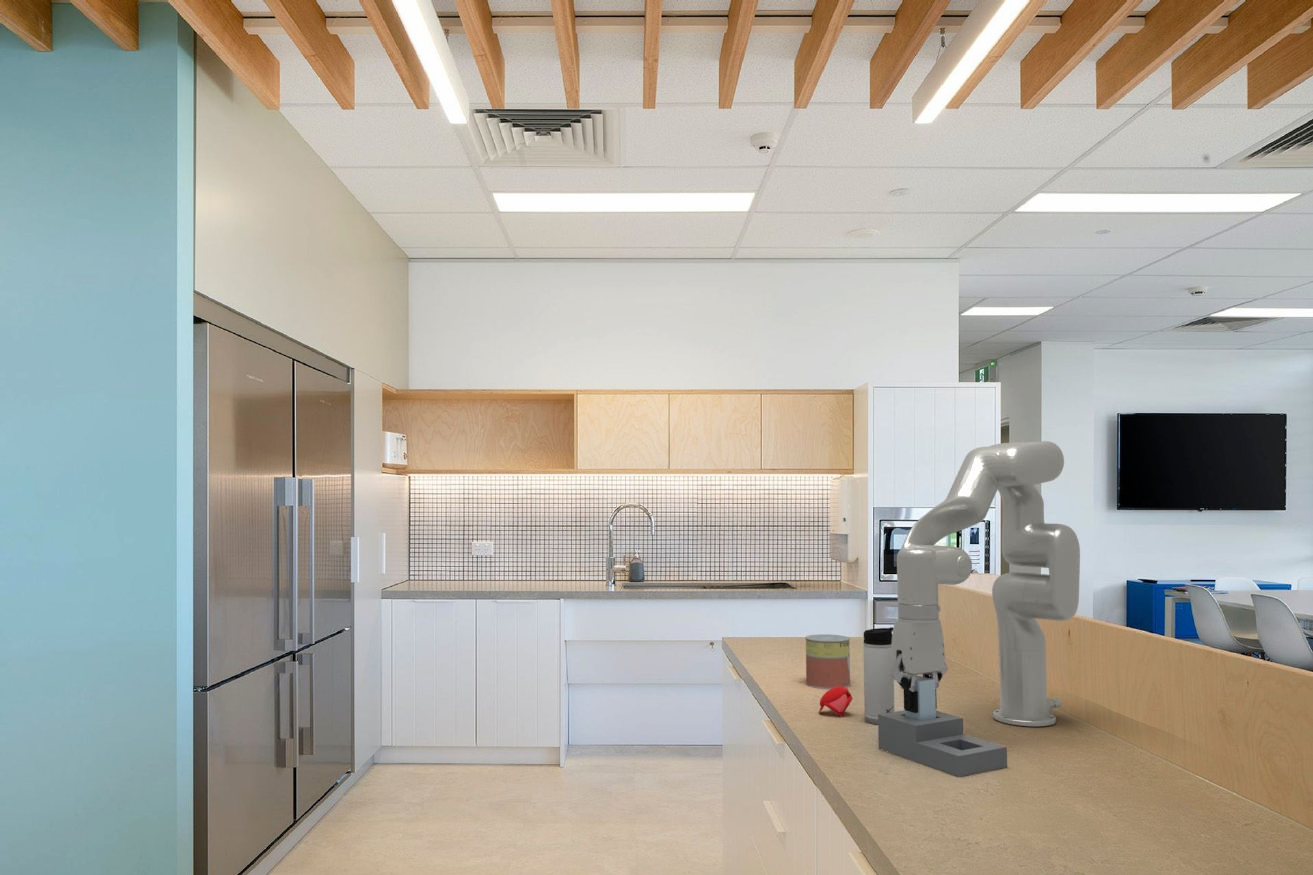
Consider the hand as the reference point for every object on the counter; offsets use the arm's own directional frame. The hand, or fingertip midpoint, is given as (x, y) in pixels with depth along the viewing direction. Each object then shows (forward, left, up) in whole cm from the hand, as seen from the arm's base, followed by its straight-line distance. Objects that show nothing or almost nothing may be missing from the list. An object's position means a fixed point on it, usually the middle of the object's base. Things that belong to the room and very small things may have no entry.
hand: (920, 708), depth 172 cm
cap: (-5, -31, -8) cm, 32 cm away
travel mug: (-9, -21, -8) cm, 24 cm away
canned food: (-24, -57, -8) cm, 62 cm away
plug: (0, 0, -4) cm, 4 cm away
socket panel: (0, +5, -8) cm, 9 cm away
